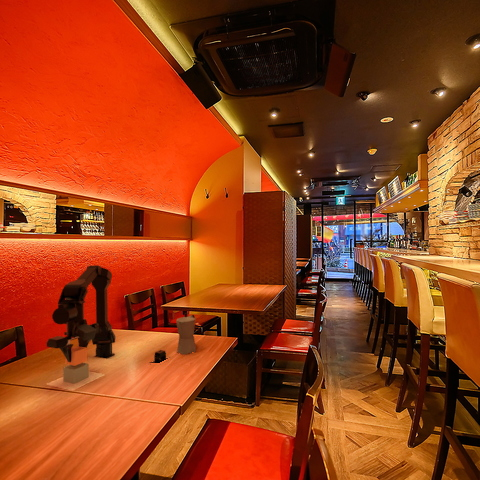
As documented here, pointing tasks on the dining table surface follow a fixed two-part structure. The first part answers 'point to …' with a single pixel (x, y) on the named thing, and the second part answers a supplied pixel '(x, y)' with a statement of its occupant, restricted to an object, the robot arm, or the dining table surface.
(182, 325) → the coffeepot
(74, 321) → the robot arm
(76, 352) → the orange block
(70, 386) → the base plate
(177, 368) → the dining table surface
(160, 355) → the dark piece
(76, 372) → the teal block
